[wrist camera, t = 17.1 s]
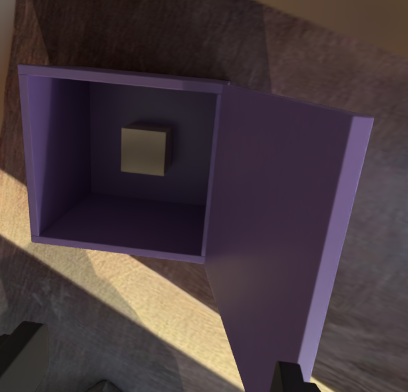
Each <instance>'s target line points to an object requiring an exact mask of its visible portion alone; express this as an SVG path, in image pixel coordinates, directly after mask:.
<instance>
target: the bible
mask: <svg viewBox="0 0 408 392" xmlns="http://www.w3.org/2000/svg"><path fill="white" fill-rule="evenodd" d="M86 392H121V391H120V390H119V389H116V387H115V386H114V385H113V384H112V383H111V382H109V381H106V382H105V381H103V382H99V383H97V384H96V386H94V387H93V388H90V389H88V390H87V391H86Z"/></svg>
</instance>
